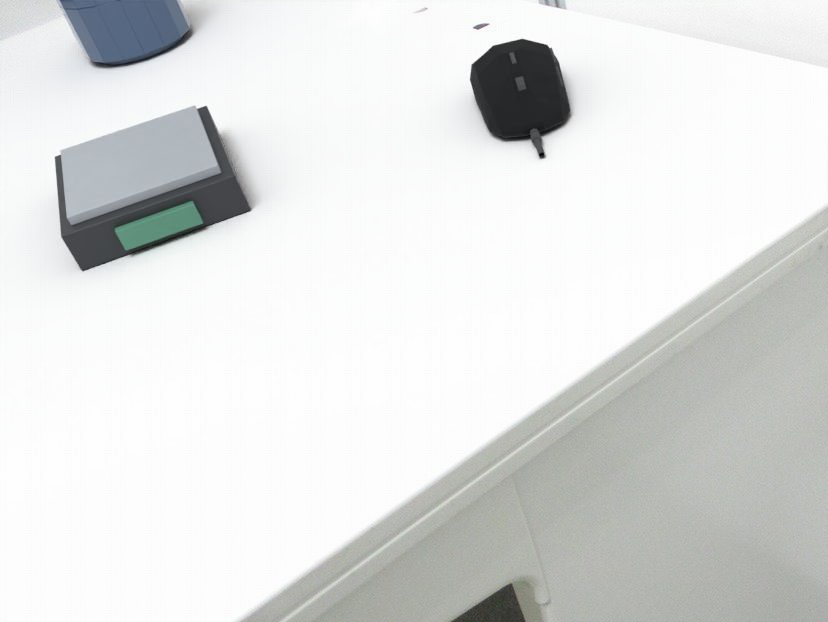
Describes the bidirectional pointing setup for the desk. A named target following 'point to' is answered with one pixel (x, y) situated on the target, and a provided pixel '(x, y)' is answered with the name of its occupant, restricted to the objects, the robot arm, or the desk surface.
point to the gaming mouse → (520, 90)
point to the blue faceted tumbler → (125, 27)
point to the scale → (145, 186)
